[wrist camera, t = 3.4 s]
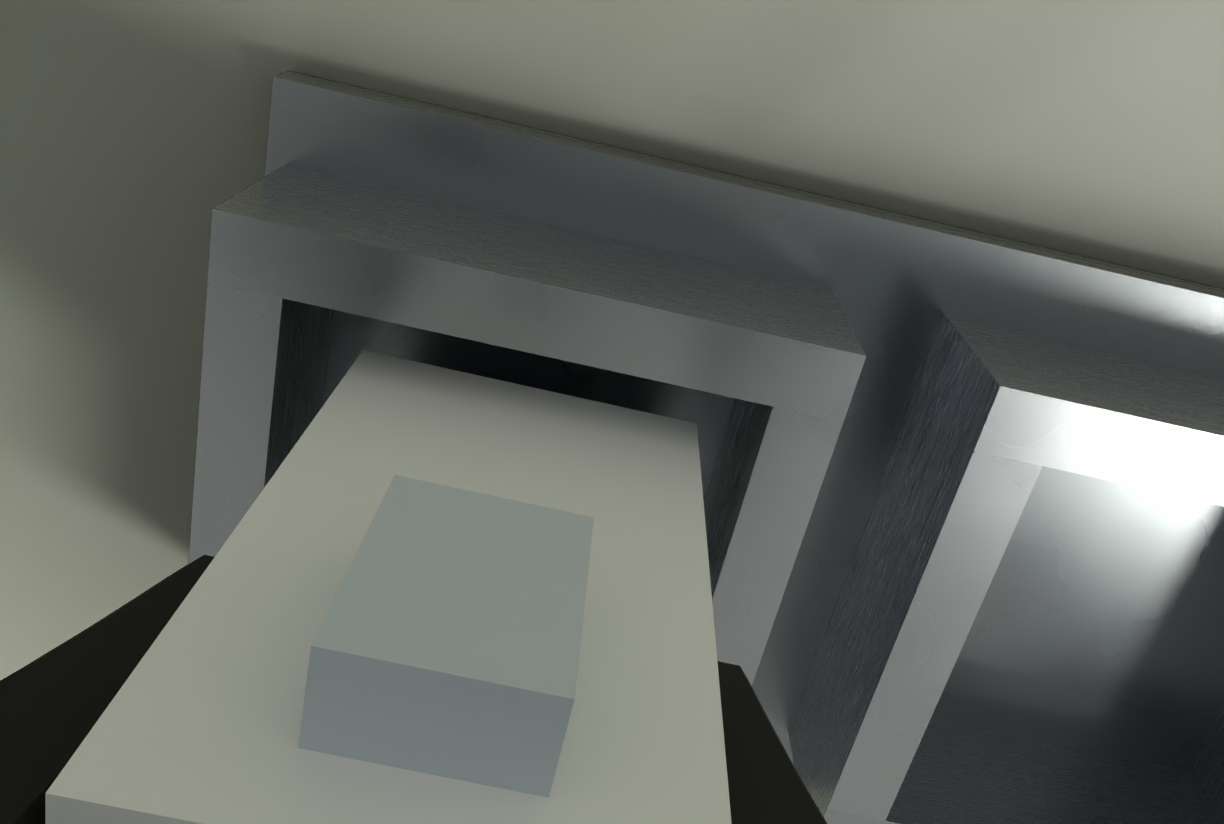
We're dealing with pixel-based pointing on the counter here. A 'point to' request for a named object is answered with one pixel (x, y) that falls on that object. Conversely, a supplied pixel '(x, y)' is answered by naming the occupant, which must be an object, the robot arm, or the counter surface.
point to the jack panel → (792, 436)
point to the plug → (436, 628)
